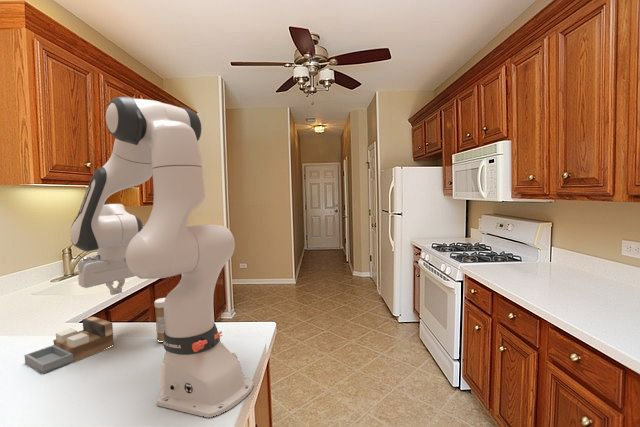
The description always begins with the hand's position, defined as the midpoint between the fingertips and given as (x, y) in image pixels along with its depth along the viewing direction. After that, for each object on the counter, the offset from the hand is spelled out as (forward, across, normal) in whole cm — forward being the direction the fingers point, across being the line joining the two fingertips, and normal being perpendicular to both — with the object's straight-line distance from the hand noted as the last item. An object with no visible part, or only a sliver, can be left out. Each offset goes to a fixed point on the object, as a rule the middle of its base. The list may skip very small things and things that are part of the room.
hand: (116, 293), depth 110 cm
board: (+14, -10, 0) cm, 18 cm away
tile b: (+10, -14, +3) cm, 17 cm away
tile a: (+10, -14, -4) cm, 17 cm away
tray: (+14, -20, 0) cm, 24 cm away
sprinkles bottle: (+15, +5, -17) cm, 23 cm away
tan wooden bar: (+10, -6, 0) cm, 12 cm away
